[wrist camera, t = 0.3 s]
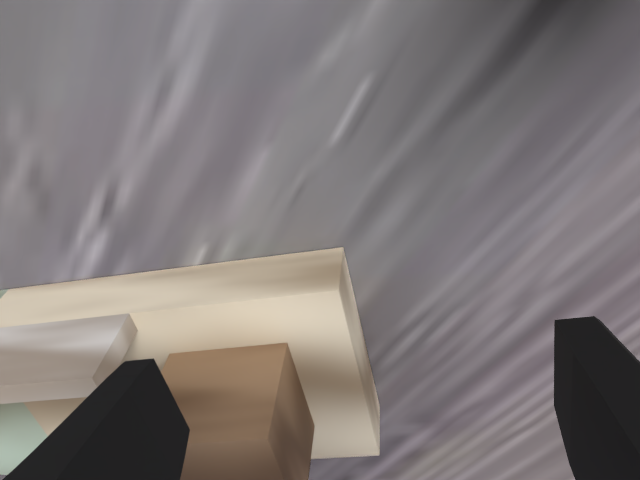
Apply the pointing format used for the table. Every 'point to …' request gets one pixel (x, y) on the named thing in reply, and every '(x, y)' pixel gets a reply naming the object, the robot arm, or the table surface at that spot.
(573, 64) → the table surface
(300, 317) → the board
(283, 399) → the walnut block
